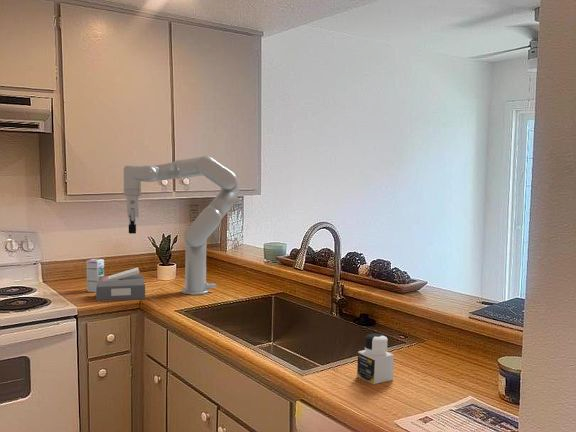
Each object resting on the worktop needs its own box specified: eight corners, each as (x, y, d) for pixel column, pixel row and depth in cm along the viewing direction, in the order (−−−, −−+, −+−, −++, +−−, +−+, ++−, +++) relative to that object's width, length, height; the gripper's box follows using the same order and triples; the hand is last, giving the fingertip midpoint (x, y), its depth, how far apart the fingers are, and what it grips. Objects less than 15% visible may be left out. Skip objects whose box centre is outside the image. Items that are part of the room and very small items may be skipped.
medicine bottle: (356, 376, 151) (357, 333, 150) (376, 371, 154) (377, 330, 153) (373, 385, 145) (375, 340, 144) (393, 380, 148) (395, 337, 147)
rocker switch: (138, 270, 244) (137, 267, 244) (139, 273, 237) (138, 269, 237) (102, 281, 240) (101, 277, 239) (102, 284, 233) (101, 280, 233)
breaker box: (143, 292, 248) (143, 274, 247) (145, 298, 236) (145, 279, 236) (97, 294, 242) (97, 276, 241) (96, 301, 230) (96, 281, 230)
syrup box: (98, 292, 247) (98, 260, 246) (86, 291, 248) (86, 260, 247) (104, 289, 252) (104, 258, 251) (93, 289, 253) (93, 258, 252)
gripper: (141, 193, 240) (141, 235, 241) (140, 192, 254) (140, 231, 255) (123, 193, 237) (123, 235, 239) (123, 192, 252) (123, 231, 253)
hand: (132, 233), depth 247 cm, fingers closed
